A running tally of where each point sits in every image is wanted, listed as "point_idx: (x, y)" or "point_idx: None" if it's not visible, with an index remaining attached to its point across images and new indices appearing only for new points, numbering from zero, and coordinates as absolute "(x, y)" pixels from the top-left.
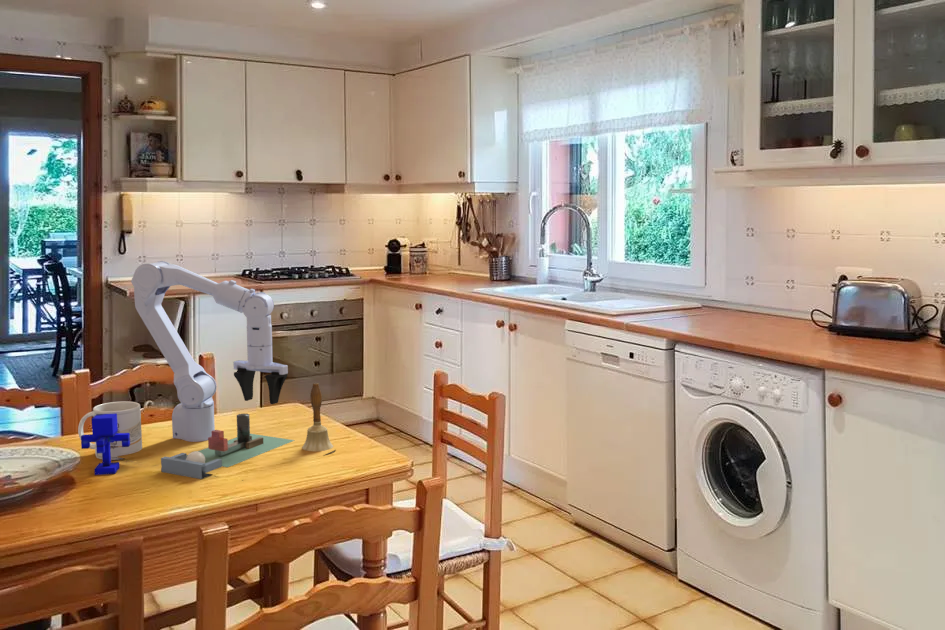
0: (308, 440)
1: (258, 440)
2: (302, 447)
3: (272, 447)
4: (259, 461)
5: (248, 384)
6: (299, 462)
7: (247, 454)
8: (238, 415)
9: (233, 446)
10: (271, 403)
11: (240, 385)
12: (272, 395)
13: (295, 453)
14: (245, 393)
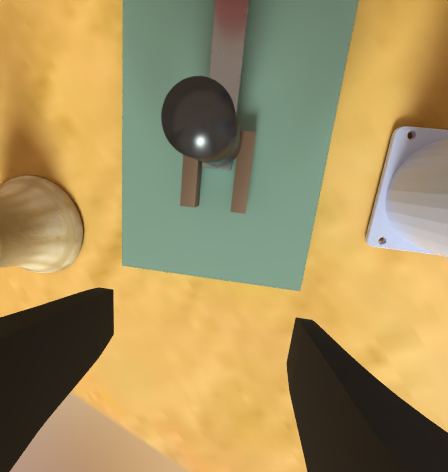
0: (6, 200)
1: (182, 179)
2: (54, 203)
3: (134, 175)
4: (114, 68)
5: (328, 453)
6: (10, 109)
7: (157, 69)
8: (217, 96)
9: (211, 59)
10: (101, 288)
11: (394, 400)
12: (40, 306)
13: (74, 184)
14: (313, 346)
